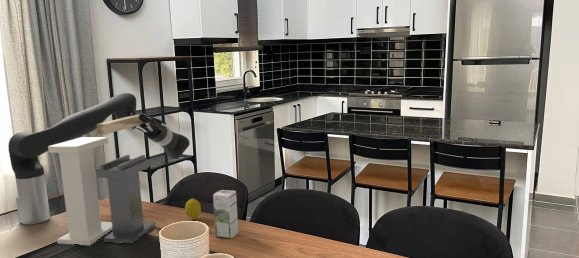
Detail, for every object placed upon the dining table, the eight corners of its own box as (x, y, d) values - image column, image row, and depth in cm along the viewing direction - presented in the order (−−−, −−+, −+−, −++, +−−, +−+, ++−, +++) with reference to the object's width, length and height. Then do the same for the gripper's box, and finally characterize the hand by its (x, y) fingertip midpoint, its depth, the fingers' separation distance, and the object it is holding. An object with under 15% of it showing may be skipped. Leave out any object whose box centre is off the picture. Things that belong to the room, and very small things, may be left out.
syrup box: (239, 232, 143) (236, 190, 141) (231, 239, 138) (228, 195, 136) (223, 230, 145) (221, 188, 143) (215, 237, 140) (212, 194, 138)
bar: (97, 134, 131) (96, 124, 130) (139, 122, 154) (139, 114, 154) (106, 134, 130) (105, 124, 130) (147, 122, 153) (146, 113, 153)
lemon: (203, 216, 159) (201, 195, 158) (198, 222, 154) (197, 200, 152) (188, 216, 160) (187, 196, 158) (183, 222, 154) (182, 200, 153)
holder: (103, 242, 139) (95, 165, 135) (129, 225, 154) (122, 154, 150) (132, 244, 137) (124, 165, 133) (155, 226, 152) (149, 155, 148)
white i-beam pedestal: (57, 243, 140) (45, 146, 135) (89, 225, 155) (79, 137, 150) (90, 245, 137) (79, 146, 132) (119, 226, 153) (110, 137, 148)
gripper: (143, 124, 167) (119, 106, 151) (177, 123, 164) (156, 105, 148) (140, 142, 164) (114, 126, 149) (174, 142, 162) (152, 125, 146)
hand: (135, 116), depth 149 cm, fingers closed on bar, 3 cm apart
